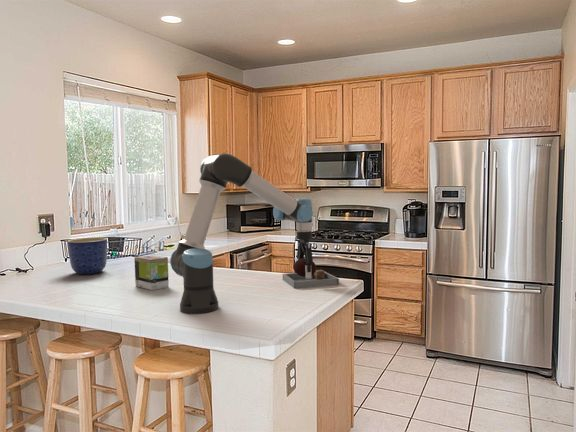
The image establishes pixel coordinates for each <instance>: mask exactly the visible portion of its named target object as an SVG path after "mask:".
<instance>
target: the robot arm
mask: <svg viewBox="0 0 576 432" xmlns="http://www.w3.org/2000/svg"><path fill="white" fill-rule="evenodd" d="M199 167H200V169H199V171H200V177H199V181H198V182H199V184H200V188H199V191H198V195H197V198H196V202H195V204H194V207H193V211H192V214H191V216H190V219H189V221H188V226H187V229H186V231H185V234H184V235H185V236H184V238H183V239H182V240H180V241H179V242H178V244H177V247H176V249H175V250H174V251H173V252H172V254H171V256H170V259H169V264H170V267H171V269H172V271H174V273H175V274H176V275H177V276H179V277H182V278H183V293H182V296H181V300H180V303H179V310H180V312H182V313H184V314H192V315H193V314H194V315H195V314H206V313H211V312H214V311H216V310H218V309H219V305H220V304H219V300H218V297H217V294H216V291H215V289H214V288H215V287H214V258H213V253H212V252H211V251H210V249H209V250H208V249H206V247H205V245H204V244H205V241H206V238H207V235H208V232H209V229H210V226H211V224H212V220H213V217H214V213H215V210H216V207H217V205H218V201H219V198H220V194H221V192H223V191H224V190H226V188H227V184H228V183H230V184H232V185H235V186H236V187H238V188H242V187H243V188H244V189H246V190H247V191H249V192H251V193H252V194H254V195H255V196H256V197H259V198H260V199H262V200H264V201H265V202H267V203H268V204H270V205H271V206H273V209H272V215H273V218H274V219H275V220H277V221H290V222H291V221H292V222H295V223H296V224H295V225H296V227H295V229H296V239H297V249H296V251H297V252H296V253H297V254H296V260H299V259H302V258H305V261H306V264H305V273H306V279H311V265H312V264H313V262H314V259H313V250H312V243H311V242H310V241H309V240H312V238H313V231H312V230H313V214H314V212H313V205H312V204H313V203H312V200H311V199H310V198H297V199H295V198H293V197H291V196H290V195H288V194H287V193H286V192H284V191H283V190H281V189H279V188H278V187H277V186H276V185H274V184H273V183H272V182H269V181H268V180H267V179H265V178H264V177H262V176H260V175H259V174H257V173H256V172H255V171H254V170H253V168H252V167H251V166H249V165H248V164H247V163H245V162H244V161H242V160H241V159H240V158H238V157H237V156H235V155H233V154H230V153H219V154H212V155H208V156H207V157H206V158H204V159H203V160H202V162H201V164H200V166H199Z"/></svg>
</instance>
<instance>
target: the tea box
mask: <svg viewBox="0 0 576 432" xmlns="http://www.w3.org/2000/svg"><path fill="white" fill-rule="evenodd" d="M134 280H135V281H134V282H135V287H138V288H141V289H146V290H149V291H153V290H160V289H165V288H169V283H170V282H169V281H170V280H169V257H167V256H161V255H154V254H148V255H147V254H146V255H140V256H134Z"/></svg>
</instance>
